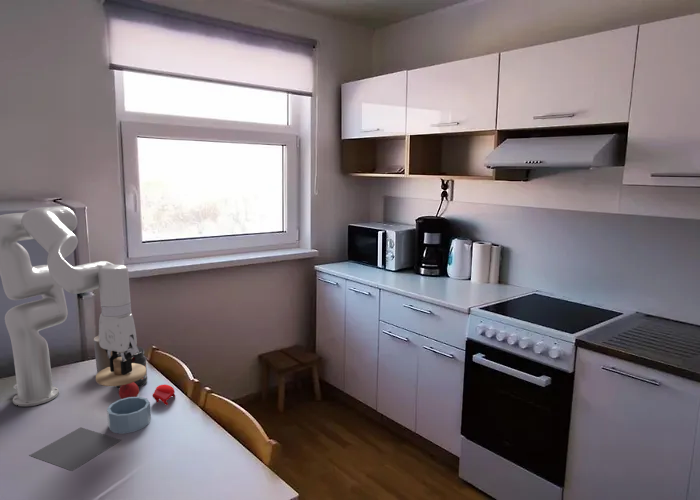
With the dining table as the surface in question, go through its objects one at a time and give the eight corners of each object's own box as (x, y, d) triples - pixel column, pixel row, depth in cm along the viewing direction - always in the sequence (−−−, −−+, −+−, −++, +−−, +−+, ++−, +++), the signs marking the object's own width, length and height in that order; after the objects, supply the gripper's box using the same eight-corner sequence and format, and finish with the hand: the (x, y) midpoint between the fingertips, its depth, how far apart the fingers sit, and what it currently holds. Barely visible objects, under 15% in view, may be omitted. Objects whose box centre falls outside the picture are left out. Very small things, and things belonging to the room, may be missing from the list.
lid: (85, 380, 137) (83, 363, 136) (123, 363, 149) (122, 347, 148) (119, 389, 132) (117, 372, 131) (156, 371, 144) (155, 354, 143)
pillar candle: (132, 370, 182) (128, 331, 179) (108, 380, 173) (104, 339, 171) (114, 365, 186) (111, 327, 184) (90, 374, 178) (86, 335, 175)
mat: (29, 457, 128) (29, 455, 128) (80, 429, 142) (80, 427, 142) (72, 473, 122) (72, 470, 122) (121, 441, 136) (121, 439, 135)
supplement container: (107, 389, 167) (104, 355, 164) (127, 376, 177) (125, 344, 175) (135, 392, 164) (132, 358, 162) (154, 379, 174) (151, 346, 172)
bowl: (100, 429, 141) (98, 410, 140) (131, 412, 151) (129, 394, 150) (129, 438, 137) (127, 418, 136) (158, 419, 147) (157, 401, 146)
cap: (162, 400, 152) (176, 385, 156) (148, 391, 154) (161, 376, 157) (168, 411, 158) (181, 396, 162) (154, 402, 160) (167, 387, 163)
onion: (132, 407, 154) (130, 383, 153) (115, 405, 155) (113, 382, 154) (143, 398, 160) (141, 375, 158) (127, 397, 161) (125, 374, 160)
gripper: (83, 309, 137) (89, 371, 140) (126, 317, 130) (132, 382, 133) (106, 302, 144) (111, 361, 147) (149, 309, 137) (153, 371, 140)
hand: (121, 370), depth 140 cm, fingers closed on lid, 3 cm apart
